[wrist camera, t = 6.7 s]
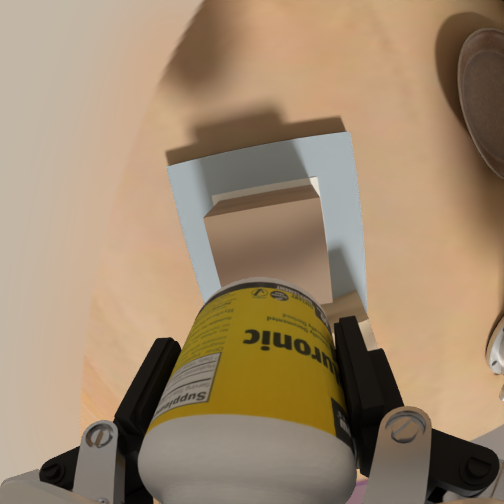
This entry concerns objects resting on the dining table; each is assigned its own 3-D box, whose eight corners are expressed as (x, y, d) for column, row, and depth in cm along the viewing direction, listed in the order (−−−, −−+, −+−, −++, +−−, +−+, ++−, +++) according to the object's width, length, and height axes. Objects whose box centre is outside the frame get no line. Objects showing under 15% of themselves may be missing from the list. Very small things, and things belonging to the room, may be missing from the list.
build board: (364, 329, 27) (367, 336, 26) (223, 347, 29) (221, 355, 28) (346, 131, 21) (350, 131, 20) (171, 165, 23) (166, 166, 22)
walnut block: (323, 270, 24) (332, 302, 19) (238, 283, 25) (229, 316, 20) (311, 184, 22) (320, 197, 17) (219, 200, 23) (203, 218, 18)
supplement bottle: (355, 334, 12) (408, 571, 3) (260, 393, 13) (236, 590, 4) (266, 241, 11) (214, 577, 2) (171, 323, 12) (67, 538, 3)
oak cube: (369, 328, 26) (381, 359, 21) (324, 345, 27) (329, 379, 23) (356, 289, 24) (368, 318, 20) (307, 309, 25) (311, 341, 21)
